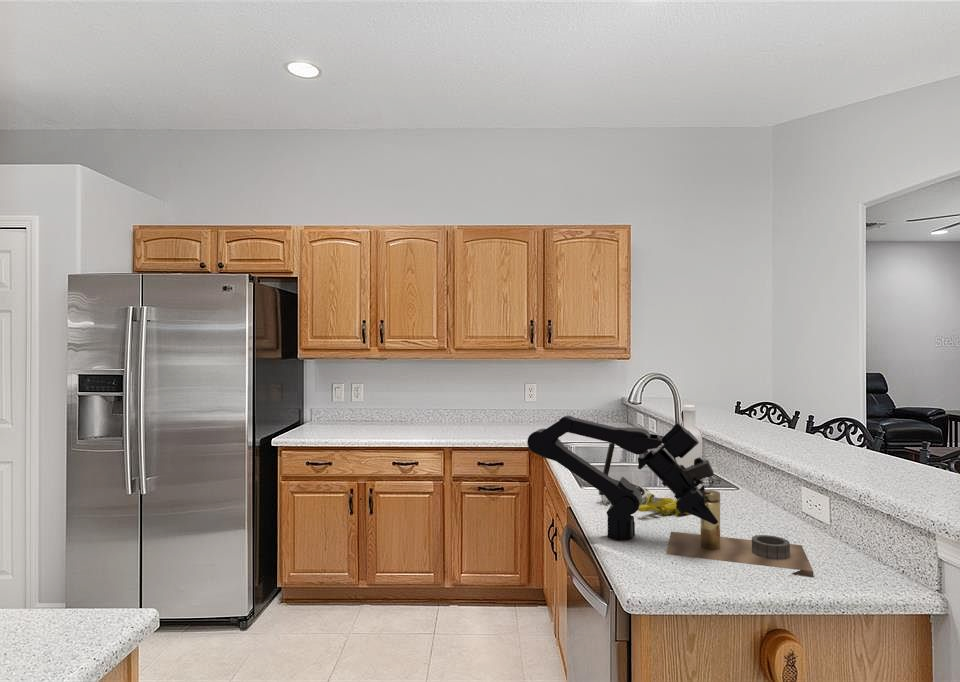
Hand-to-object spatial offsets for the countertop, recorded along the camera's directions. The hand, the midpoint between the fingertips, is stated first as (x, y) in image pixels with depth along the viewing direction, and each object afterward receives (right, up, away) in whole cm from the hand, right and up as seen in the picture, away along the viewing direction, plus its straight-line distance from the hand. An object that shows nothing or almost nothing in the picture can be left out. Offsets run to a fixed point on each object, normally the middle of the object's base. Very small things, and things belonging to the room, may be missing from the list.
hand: (716, 520), depth 144 cm
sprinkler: (+1, -8, +32) cm, 33 cm away
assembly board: (+4, -8, -1) cm, 9 cm away
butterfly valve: (-10, -8, +46) cm, 48 cm away
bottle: (+11, -8, +50) cm, 52 cm away
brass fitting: (-1, -6, 0) cm, 7 cm away
